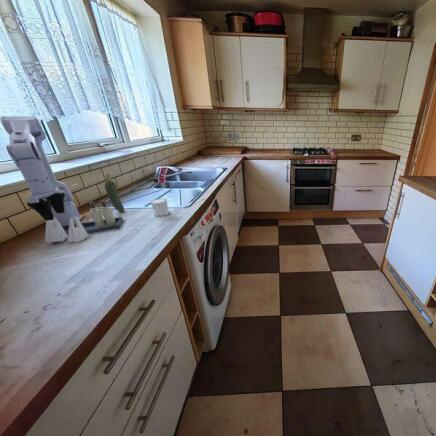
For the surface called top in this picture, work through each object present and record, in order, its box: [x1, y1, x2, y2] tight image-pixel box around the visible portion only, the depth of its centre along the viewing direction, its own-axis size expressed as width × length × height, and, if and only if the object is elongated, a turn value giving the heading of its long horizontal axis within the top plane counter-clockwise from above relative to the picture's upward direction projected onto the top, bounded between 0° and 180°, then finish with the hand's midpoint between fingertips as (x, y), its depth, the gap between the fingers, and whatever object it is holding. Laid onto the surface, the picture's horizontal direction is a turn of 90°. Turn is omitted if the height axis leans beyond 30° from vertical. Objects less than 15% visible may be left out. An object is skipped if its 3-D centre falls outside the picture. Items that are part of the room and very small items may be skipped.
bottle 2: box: [100, 200, 117, 226], centre depth 96 cm, size 3×3×11 cm
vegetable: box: [104, 171, 125, 213], centre depth 108 cm, size 4×4×20 cm
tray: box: [62, 216, 124, 235], centre depth 95 cm, size 9×23×2 cm, turn 115°
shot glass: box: [150, 198, 169, 217], centre depth 109 cm, size 7×7×7 cm
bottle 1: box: [89, 201, 106, 228], centre depth 95 cm, size 3×3×11 cm
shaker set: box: [44, 217, 90, 243], centre depth 85 cm, size 12×4×11 cm, turn 105°
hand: (55, 216), depth 83 cm, fingers open, 7 cm apart
